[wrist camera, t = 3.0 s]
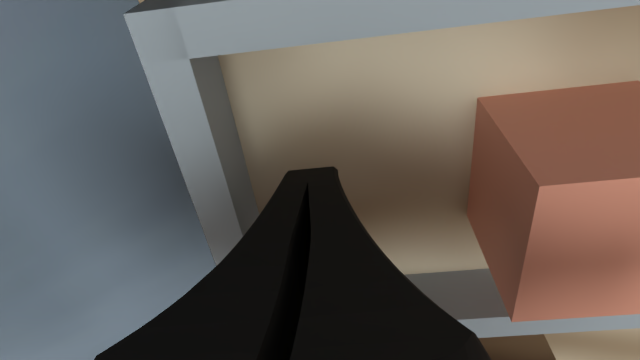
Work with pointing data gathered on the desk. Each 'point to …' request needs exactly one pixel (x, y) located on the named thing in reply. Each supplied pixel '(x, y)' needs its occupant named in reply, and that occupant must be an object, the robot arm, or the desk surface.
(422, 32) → the birch board
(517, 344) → the walnut bar
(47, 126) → the desk surface
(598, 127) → the coral cube
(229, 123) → the grey rectangular frame
